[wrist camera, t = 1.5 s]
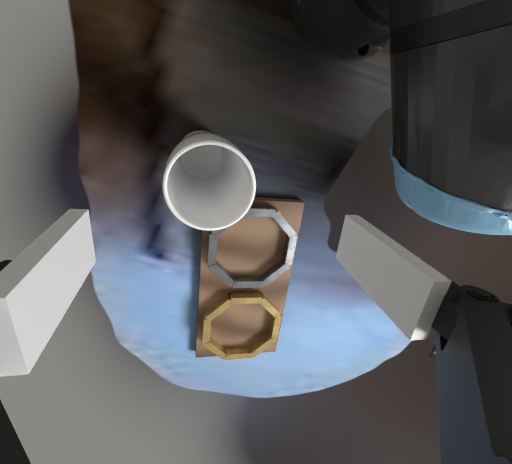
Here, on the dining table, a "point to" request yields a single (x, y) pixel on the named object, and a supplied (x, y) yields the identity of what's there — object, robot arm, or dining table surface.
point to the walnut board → (246, 264)
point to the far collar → (240, 351)
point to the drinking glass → (208, 181)
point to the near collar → (271, 272)
